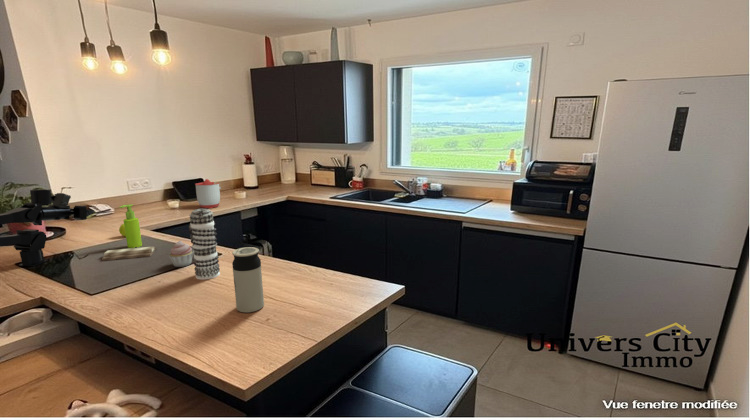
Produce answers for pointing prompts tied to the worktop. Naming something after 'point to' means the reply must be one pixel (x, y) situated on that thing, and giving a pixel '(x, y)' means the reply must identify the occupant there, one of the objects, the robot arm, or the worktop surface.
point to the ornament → (122, 230)
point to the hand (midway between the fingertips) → (85, 210)
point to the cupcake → (181, 254)
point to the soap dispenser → (132, 228)
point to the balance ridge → (128, 253)
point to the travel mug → (247, 279)
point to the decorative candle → (204, 244)
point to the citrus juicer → (208, 194)
